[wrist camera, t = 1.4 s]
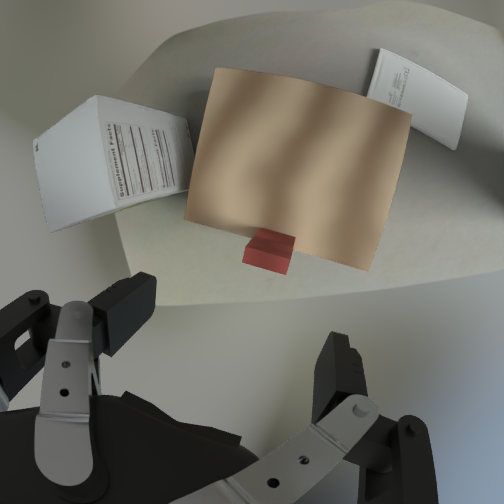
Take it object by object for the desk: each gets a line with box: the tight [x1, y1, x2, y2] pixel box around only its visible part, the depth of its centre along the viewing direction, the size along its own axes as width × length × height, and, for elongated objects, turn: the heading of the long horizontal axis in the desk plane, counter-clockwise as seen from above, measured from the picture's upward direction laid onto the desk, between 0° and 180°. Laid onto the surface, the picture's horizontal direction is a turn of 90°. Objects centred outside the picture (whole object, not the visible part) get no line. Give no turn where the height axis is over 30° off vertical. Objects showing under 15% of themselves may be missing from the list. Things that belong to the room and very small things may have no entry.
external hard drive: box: [366, 48, 468, 150], centre depth 24 cm, size 2×8×12 cm
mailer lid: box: [184, 68, 412, 275], centre depth 20 cm, size 18×15×7 cm
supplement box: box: [33, 95, 195, 233], centre depth 25 cm, size 10×9×17 cm
